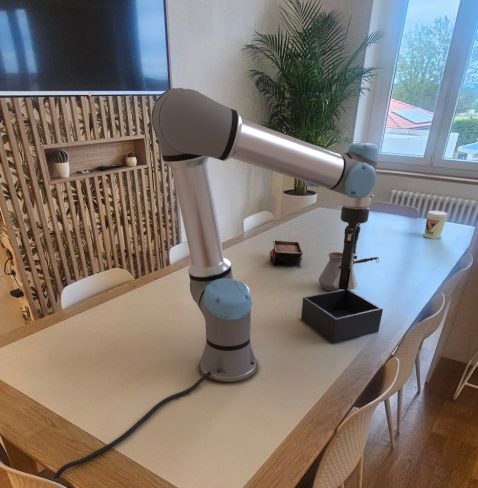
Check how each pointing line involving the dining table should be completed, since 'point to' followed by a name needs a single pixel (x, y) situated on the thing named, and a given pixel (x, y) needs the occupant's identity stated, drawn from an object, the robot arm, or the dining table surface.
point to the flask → (351, 280)
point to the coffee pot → (335, 270)
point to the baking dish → (286, 252)
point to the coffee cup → (435, 224)
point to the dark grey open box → (341, 315)
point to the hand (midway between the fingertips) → (345, 284)
